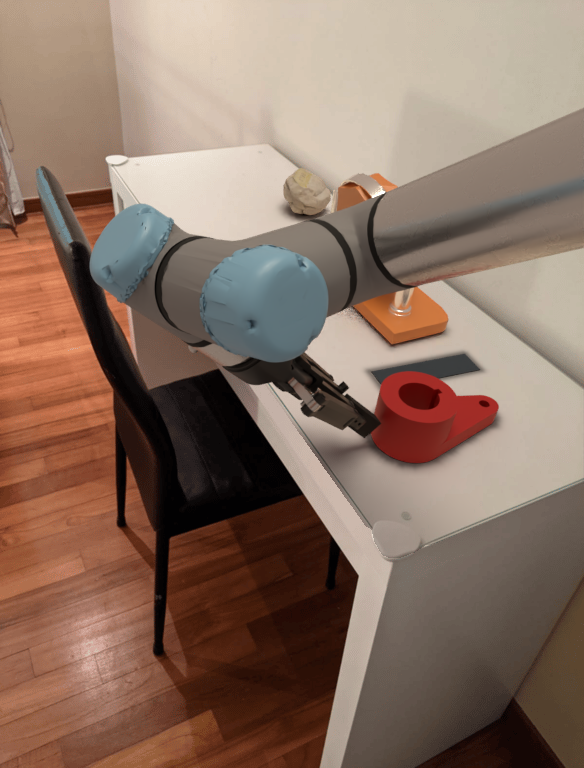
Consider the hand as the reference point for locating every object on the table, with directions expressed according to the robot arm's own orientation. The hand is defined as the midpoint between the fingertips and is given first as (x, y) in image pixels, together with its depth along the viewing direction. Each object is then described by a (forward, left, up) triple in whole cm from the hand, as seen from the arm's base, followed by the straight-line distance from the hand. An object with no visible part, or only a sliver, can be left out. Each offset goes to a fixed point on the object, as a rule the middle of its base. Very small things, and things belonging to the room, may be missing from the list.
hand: (369, 426), depth 73 cm
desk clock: (+33, -18, -3) cm, 37 cm away
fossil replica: (+66, -20, -3) cm, 69 cm away
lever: (0, -10, -3) cm, 11 cm away
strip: (+11, -16, -3) cm, 19 cm away
